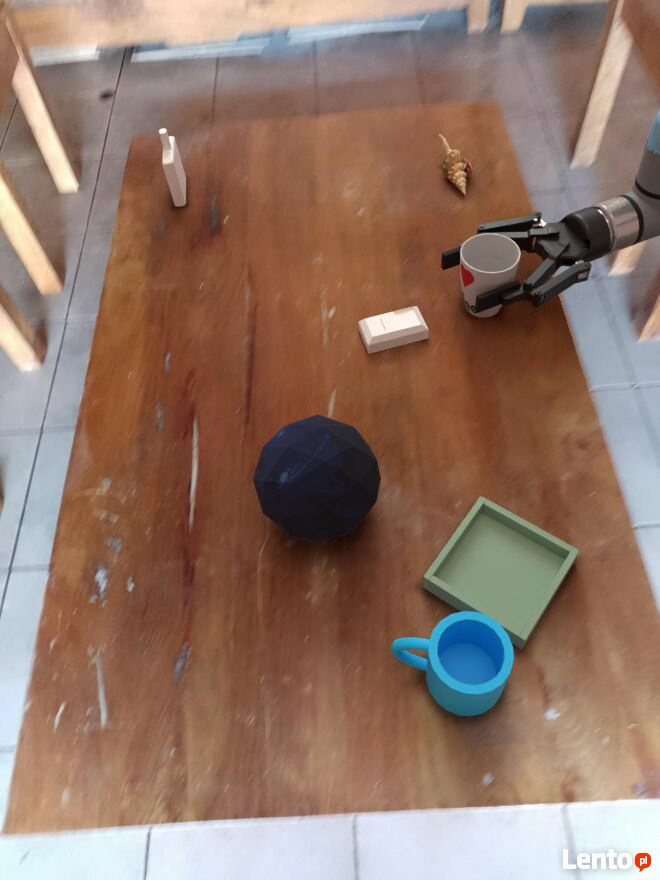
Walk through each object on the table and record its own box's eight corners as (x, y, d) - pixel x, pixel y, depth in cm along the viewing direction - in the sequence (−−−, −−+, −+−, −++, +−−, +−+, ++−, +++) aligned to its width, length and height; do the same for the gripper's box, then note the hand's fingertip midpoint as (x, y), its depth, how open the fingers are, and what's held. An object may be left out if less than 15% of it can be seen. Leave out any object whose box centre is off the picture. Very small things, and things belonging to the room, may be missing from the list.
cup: (454, 286, 109) (458, 234, 101) (508, 285, 108) (517, 232, 100) (457, 325, 104) (462, 273, 96) (513, 324, 104) (523, 271, 96)
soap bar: (358, 330, 106) (358, 317, 103) (416, 315, 106) (417, 302, 104) (368, 353, 103) (368, 341, 101) (428, 338, 104) (428, 325, 101)
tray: (574, 561, 82) (580, 550, 80) (521, 650, 77) (525, 640, 75) (478, 507, 87) (480, 495, 85) (422, 587, 82) (422, 576, 80)
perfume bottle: (175, 179, 130) (157, 118, 120) (186, 178, 130) (169, 116, 120) (174, 207, 126) (155, 145, 116) (186, 205, 126) (167, 144, 116)
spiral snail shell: (488, 188, 122) (492, 165, 118) (464, 199, 121) (467, 176, 117) (441, 151, 129) (443, 128, 125) (418, 160, 128) (419, 137, 124)
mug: (508, 648, 77) (518, 620, 71) (498, 725, 73) (508, 703, 66) (399, 623, 80) (398, 595, 73) (383, 696, 75) (381, 673, 69)
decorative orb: (232, 552, 80) (300, 490, 70) (233, 442, 89) (294, 373, 79) (338, 574, 87) (414, 520, 77) (329, 470, 96) (397, 410, 86)
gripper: (636, 297, 101) (496, 352, 97) (550, 211, 113) (422, 257, 109) (651, 256, 95) (503, 313, 91) (558, 169, 107) (424, 216, 103)
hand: (459, 282), depth 100 cm, fingers open, 9 cm apart
